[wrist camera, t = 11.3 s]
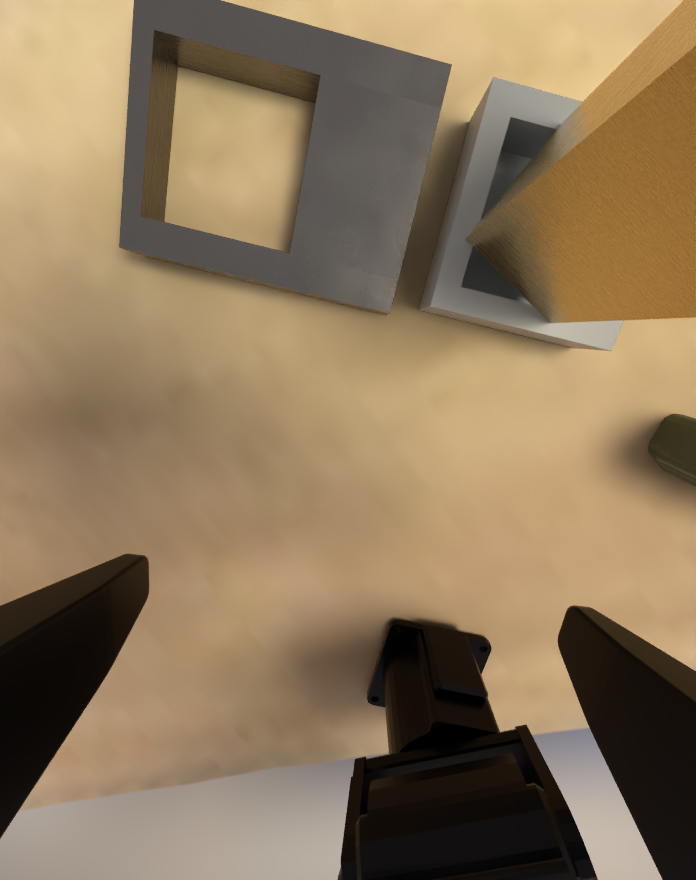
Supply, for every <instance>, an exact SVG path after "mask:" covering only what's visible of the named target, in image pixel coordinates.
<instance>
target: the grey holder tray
mask: <svg viewBox="0 0 696 880" xmlns="http://www.w3.org/2000/svg"><path fill="white" fill-rule="evenodd" d="M178 66H182V67H186V68H189V69H193V70H197V71H200V72H204V73H208V74H212V75H215V76H219V77H223V78H226V79H230V80H234V81H238V82H241V83H245V84H249V85H252V86H256V87H260V88H264V89H267V90H271V91H275V92H279V93H282V94H286V95H290V96H293V97H297V98H301V99H305V100H308V101H312V102H316V104H315V110H314V116H313V121H312V127H311V133H310V139H309V144H308V150H307V156H306V162H305V168H304V173H303V179H302V185H301V191H300V196H299V202H298V208H297V214H296V219H295V225H294V231H293V237H292V243H291V248H290V253H286V252H282V251H278V250H274V249H270V248H266V247H262V246H258V245H254V244H250V243H246V242H242V241H238V240H234V239H230V238H226V237H222V236H218V235H214V234H210V233H206V232H202V231H198V230H194V229H190V228H186V227H182V226H178V225H174V224H170V223H166V222H164V215H165V204H166V193H167V181H168V170H169V159H170V147H171V136H172V125H173V113H174V102H175V91H176V79H177V68H178ZM451 66H452V65H451V64H448V63H444V62H440V61H437V60H433V59H430V58H426V57H422V56H419V55H415V54H412V53H408V52H404V51H401V50H397V49H394V48H390V47H386V46H383V45H379V44H376V43H372V42H368V41H365V40H361V39H358V38H354V37H351V36H347V35H343V34H340V33H336V32H333V31H329V30H325V29H322V28H318V27H315V26H311V25H307V24H304V23H300V22H297V21H293V20H289V19H286V18H282V17H279V16H275V15H271V14H268V13H264V12H261V11H257V10H253V9H250V8H246V7H243V6H239V5H236V4H232V3H228V2H225V1H221V0H134V11H133V27H132V44H131V60H130V77H129V94H128V110H127V127H126V144H125V160H124V177H123V193H122V210H121V227H120V243H119V247H120V248H123V249H126V250H129V251H131V252H134V253H137V254H140V255H143V256H146V257H150V258H154V259H158V260H162V261H166V262H170V263H175V264H179V265H183V266H187V267H191V268H195V269H199V270H203V271H207V272H211V273H215V274H220V275H224V276H228V277H232V278H236V279H240V280H244V281H248V282H252V283H256V284H260V285H264V286H269V287H273V288H277V289H281V290H285V291H289V292H293V293H297V294H301V295H305V296H309V297H313V298H318V299H322V300H326V301H330V302H334V303H338V304H342V305H346V306H350V307H354V308H358V309H363V310H367V311H371V312H375V313H379V314H383V315H388V314H390V311H391V307H392V303H393V299H394V295H395V291H396V287H397V283H398V279H399V275H400V271H401V266H402V262H403V258H404V254H405V250H406V246H407V242H408V238H409V234H410V230H411V226H412V222H413V218H414V214H415V210H416V206H417V202H418V198H419V194H420V190H421V186H422V182H423V178H424V174H425V170H426V166H427V162H428V158H429V154H430V150H431V146H432V142H433V138H434V134H435V130H436V126H437V122H438V118H439V114H440V110H441V106H442V102H443V98H444V94H445V90H446V86H447V82H448V78H449V74H450V70H451Z"/></svg>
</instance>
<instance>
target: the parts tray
mask: <svg viewBox="0 0 696 880" xmlns="http://www.w3.org/2000/svg"><path fill="white" fill-rule="evenodd" d="M581 103H582V102H581V101H578V100H574V99H570V98H567V97H563V96H560V95H556V94H552V93H549V92H545V91H542V90H538V89H534V88H531V87H527V86H524V85H520V84H516V83H513V82H509V81H506V80H502V79H498V78H495V77H494V78H493V79H492V81H491V83H490V85H489V87H488V89H487V90H486V92H485V94H484V96H483V98H482V100H481V101H480V103H479V105H478V107H477V109H476V110H475V112H474V114H473V116H472V118H471V120H470V122H469V125H468V129H467V133H466V137H465V140H464V144H463V148H462V151H461V155H460V159H459V163H458V166H457V170H456V174H455V177H454V181H453V185H452V189H451V192H450V196H449V200H448V203H447V207H446V211H445V215H444V218H443V222H442V226H441V229H440V233H439V237H438V241H437V244H436V248H435V252H434V256H433V259H432V263H431V267H430V270H429V274H428V278H427V282H426V285H425V289H424V293H423V296H422V300H421V304H420V308H419V310H421V311H425V312H429V313H433V314H437V315H441V316H445V317H449V318H453V319H457V320H461V321H465V322H469V323H473V324H477V325H482V326H486V327H490V328H494V329H498V330H502V331H506V332H510V333H514V334H518V335H522V336H526V337H530V338H534V339H538V340H542V341H546V342H551V343H555V344H559V345H563V346H567V347H571V348H580V349H593V350H606V351H612V348H613V346H614V343H615V341H616V338H617V336H618V334H619V331H620V329H621V326H622V324H623V322H624V320H618V321H594V322H570V323H549V322H548V321H547V320H546V319H545V318H544V317H543V316H542V315H541V314H540V313H539V312H538V311H537V310H536V309H535V308H534V307H533V306H532V305H531V304H530V303H529V302H528V301H527V300H526V299H525V298H524V297H523V296H522V295H521V294H520V293H519V292H518V291H517V290H516V289H515V288H514V287H513V286H512V285H511V284H510V283H509V282H508V281H507V280H506V279H505V278H504V277H503V276H502V275H501V274H500V273H499V272H498V271H497V270H496V269H495V268H494V267H493V266H492V265H491V264H490V263H489V262H488V261H487V260H486V259H485V258H484V257H483V256H482V255H481V254H480V253H479V252H478V251H477V250H476V249H475V248H474V247H473V246H471V245H470V244H469V243H468V242H467V241H466V240H465V238H466V237H467V236H468V235H469V234H470V232H471V231H472V230H473V229H474V228H475V226H476V225H477V224H478V223H479V222H480V220H481V219H482V218H483V217H484V216H485V214H486V213H487V212H488V211H489V210H490V208H491V207H492V206H493V205H494V204H495V202H496V201H497V200H498V199H499V198H500V196H501V195H502V194H503V193H504V192H505V190H506V189H507V188H508V187H509V186H510V184H511V183H512V182H513V181H514V180H515V178H516V177H517V176H518V175H519V174H520V172H521V171H522V170H523V169H524V168H525V166H526V165H527V164H528V163H529V162H530V160H531V159H532V158H533V157H534V156H535V154H536V153H537V152H538V151H539V150H540V148H541V147H542V146H543V145H544V144H545V142H546V141H547V140H548V139H549V138H550V136H551V135H552V134H553V133H554V132H555V130H556V129H557V128H558V127H559V126H560V125H561V123H562V122H563V121H564V120H565V119H566V118H567V117H568V116H569V115H570V114H571V113H572V112H573V111H574V110H575V109H576V108H577V107H578V106H579V105H580V104H581Z"/></svg>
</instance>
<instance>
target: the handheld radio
mask: <svg viewBox="0 0 696 880" xmlns="http://www.w3.org/2000/svg"><path fill="white" fill-rule="evenodd" d="M648 451H649V453H650V454H651V455H652V456H654V457H656V461H657V463H658V464H659V465H660V466H661V467H662V468H663V469H664V470H665V471H667V472H669V473H671V474H673V475H675V476H677V477H679V478H681V479H683V480H685V481H687V482H689V483H691V484H693V485H695V486H696V419H695V418H691V417H688V416H685V415H680V414H671V415H670V416H668V417H666V418H664V420H663V422H662V423H661V425H660V427H659V428H658V430H657V432H656V433H655V435H654V437H653V438H652V440H651V441H650V443H649V445H648Z"/></svg>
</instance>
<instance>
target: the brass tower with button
mask: <svg viewBox="0 0 696 880" xmlns="http://www.w3.org/2000/svg"><path fill="white" fill-rule="evenodd" d="M465 240H466V241H467V242H468V243H469V244H470V245H471V246H473V247H474V248H475V249H476V250H477V251H478V252H479V253H480V254H481V255H482V256H483V257H484V258H485V259H486V260H487V261H488V262H489V263H490V264H491V265H492V266H493V267H494V268H495V269H496V270H497V271H498V272H499V273H500V274H501V275H502V276H503V277H504V278H505V279H506V280H507V281H508V282H509V283H510V284H511V285H512V286H513V287H514V288H515V289H516V290H517V291H518V292H519V293H520V294H521V295H522V296H523V297H524V298H525V299H526V300H527V301H528V302H529V303H530V304H531V305H532V306H533V307H534V308H535V309H536V310H537V311H538V312H539V313H540V314H541V315H542V316H543V317H544V318H545V319H546V320H547V321H548V322H549V323H570V322H594V321H618V320H642V319H666V318H690V317H696V0H684V1H683V2H682V3H681V4H680V5H679V6H678V7H677V8H676V9H675V10H674V11H673V12H672V13H671V14H670V15H669V16H668V17H667V18H666V19H665V20H664V21H663V22H662V23H661V24H660V25H659V26H658V27H657V28H656V29H655V30H654V31H653V32H652V33H651V34H650V35H649V36H648V37H647V38H646V39H645V40H644V41H643V42H642V43H641V44H640V45H639V46H638V47H637V48H636V49H635V50H634V51H633V52H632V53H631V54H630V55H629V56H628V57H627V58H626V59H625V60H624V61H623V62H622V63H621V64H620V65H619V66H618V67H617V68H616V69H615V70H614V71H613V72H612V73H611V74H610V75H609V76H608V77H607V78H606V79H605V80H604V81H603V82H602V83H601V84H600V85H599V86H598V87H597V88H596V89H595V90H594V91H593V92H592V93H591V94H590V95H589V96H588V97H587V98H586V99H585V100H584V101H583V102H582V103H581V104H580V105H579V106H578V107H577V108H576V109H575V110H574V111H573V112H572V113H571V114H570V115H569V116H568V117H567V118H566V119H565V120H564V121H563V122H562V123H561V125H560V126H559V127H558V128H557V129H556V130H555V132H554V133H553V134H552V135H551V136H550V138H549V139H548V140H547V141H546V142H545V144H544V145H543V146H542V147H541V148H540V150H539V151H538V152H537V153H536V154H535V156H534V157H533V158H532V159H531V160H530V162H529V163H528V164H527V165H526V166H525V168H524V169H523V170H522V171H521V172H520V174H519V175H518V176H517V177H516V178H515V180H514V181H513V182H512V183H511V184H510V186H509V187H508V188H507V189H506V190H505V192H504V193H503V194H502V195H501V196H500V198H499V199H498V200H497V201H496V202H495V204H494V205H493V206H492V207H491V208H490V210H489V211H488V212H487V213H486V214H485V216H484V217H483V218H482V219H481V220H480V222H479V223H478V224H477V225H476V226H475V228H474V229H473V230H472V231H471V232H470V234H469V235H468V236H467V237H466V238H465Z"/></svg>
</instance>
